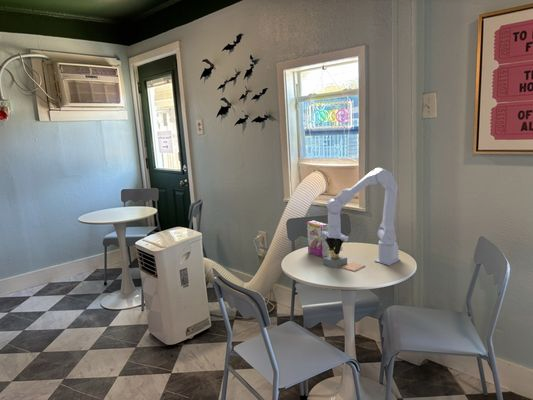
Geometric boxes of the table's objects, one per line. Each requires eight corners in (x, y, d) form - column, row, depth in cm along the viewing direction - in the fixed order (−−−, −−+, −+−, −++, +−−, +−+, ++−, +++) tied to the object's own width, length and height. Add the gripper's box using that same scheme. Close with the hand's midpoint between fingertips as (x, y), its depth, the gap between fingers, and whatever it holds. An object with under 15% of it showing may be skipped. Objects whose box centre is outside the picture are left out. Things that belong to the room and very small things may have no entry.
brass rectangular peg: (338, 259, 186) (338, 245, 185) (342, 260, 184) (342, 246, 183) (327, 263, 181) (327, 249, 180) (331, 265, 179) (331, 250, 178)
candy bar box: (307, 252, 201) (306, 221, 197) (314, 250, 203) (313, 220, 200) (322, 258, 192) (321, 226, 188) (329, 255, 194) (328, 224, 191)
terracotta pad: (352, 263, 183) (352, 262, 183) (365, 266, 177) (365, 265, 177) (341, 267, 178) (341, 266, 178) (354, 271, 172) (354, 270, 172)
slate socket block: (334, 259, 189) (333, 253, 188) (347, 263, 183) (347, 257, 182) (323, 264, 184) (322, 258, 183) (336, 268, 178) (336, 262, 177)
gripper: (316, 224, 182) (317, 251, 185) (341, 229, 171) (341, 258, 174) (326, 221, 187) (327, 248, 189) (351, 226, 176) (351, 254, 178)
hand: (334, 253), depth 182 cm, fingers closed on brass rectangular peg, 2 cm apart
